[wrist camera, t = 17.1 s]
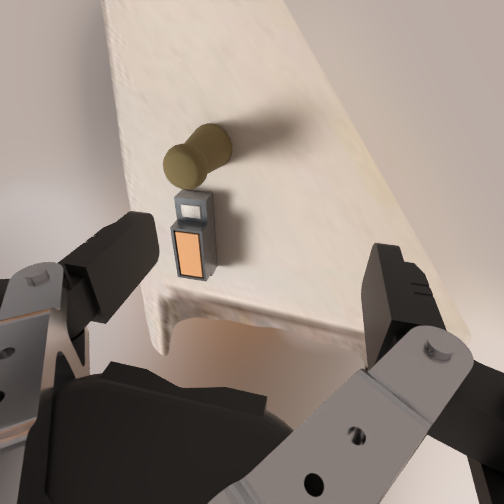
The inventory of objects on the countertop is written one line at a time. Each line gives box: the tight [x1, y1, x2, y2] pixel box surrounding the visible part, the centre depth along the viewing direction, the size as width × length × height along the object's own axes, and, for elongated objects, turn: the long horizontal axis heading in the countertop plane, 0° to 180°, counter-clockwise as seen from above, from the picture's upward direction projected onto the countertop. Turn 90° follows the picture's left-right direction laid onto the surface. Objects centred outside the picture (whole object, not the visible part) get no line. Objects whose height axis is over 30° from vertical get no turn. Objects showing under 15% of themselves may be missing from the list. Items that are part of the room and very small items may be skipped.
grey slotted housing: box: [170, 190, 217, 281], centre depth 50 cm, size 14×5×6 cm, turn 0°
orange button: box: [175, 231, 204, 277], centre depth 49 cm, size 8×4×2 cm, turn 0°
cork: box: [163, 124, 232, 190], centre depth 39 cm, size 6×6×11 cm
